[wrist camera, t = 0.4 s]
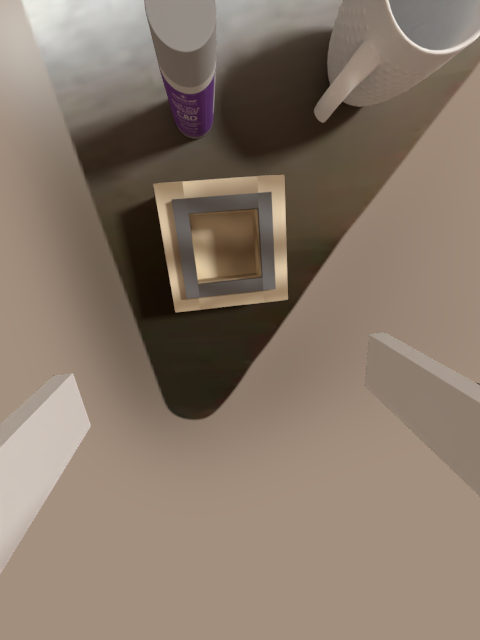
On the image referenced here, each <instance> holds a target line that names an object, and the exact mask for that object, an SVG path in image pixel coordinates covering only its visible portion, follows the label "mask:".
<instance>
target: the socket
mask: <svg viewBox="0 0 480 640" xmlns="http://www.w3.org/2000/svg"><path fill="white" fill-rule="evenodd" d="M153 186H154V191H155V197H156V203H157V209H158V215H159V220H160V226H161V232H162V238H163V244H164V249H165V255H166V261H167V267H168V273H169V279H170V284H171V290H172V296H173V302H174V308H175V312H184V311H193V310H202V309H211V308H219V307H228V306H237V305H246V304H254V303H263V302H272V301H281V300H288V286H287V250H286V214H285V179H284V175H267V176H253V177H239V178H225V179H211V180H197V181H183V182H168V183H159V184H153Z"/></svg>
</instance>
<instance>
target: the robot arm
mask: <svg viewBox="0 0 480 640" xmlns="http://www.w3.org/2000/svg"><path fill="white" fill-rule="evenodd" d="M365 386H366V387H367V388H368V389H369V390H370V391H371V392H372V393H373V394H374V395H375V396H376V397H377V398H378V399H379V400H380V401H381V402H382V403H383V404H384V405H386V407H387V408H389V409H390V410H391V411H392V412H393V413H394V414H395V415H396V416H397V417H398V418H399V419H400V420H401V421H402V422H403V423H404V424H405V425H406V426H407V427H408V428H409V429H410V430H411V431H412V432H413V433H414V434H416V435H417V436H418V437H419V438H420V439H421V440H422V441H423V442H424V443H425V444H426V445H427V446H428V447H429V448H430V449H431V450H432V451H433V452H434V453H435V454H436V455H437V456H438V457H439V458H440V459H441V460H443V461H444V462H445V463H446V464H447V465H448V466H449V467H450V468H451V469H452V470H453V471H454V472H455V473H456V474H457V475H458V476H459V477H460V478H461V479H462V480H463V481H464V482H465V483H466V484H467V485H469V486H470V487H471V488H472V489H473V490H474V491H475V492H476V493H477V494H478V495H479V496H480V384H479V383H475V382H473V381H471V380H470V379H468V378H466V377H464V376H463V375H460V374H459V373H457V372H455V371H453V370H452V369H450V368H448V367H446V366H444V365H443V364H441V363H439V362H437V361H435V360H434V359H432V358H430V357H428V356H426V355H424V354H422V353H421V352H419V351H417V350H415V349H414V348H412V347H410V346H408V345H406V344H404V343H403V342H401V341H399V340H397V339H395V338H394V337H392V336H390V335H388V334H386V333H377V334H370V335H369V342H368V353H367V366H366V376H365ZM90 426H91V425H90V422H89V419H88V416H87V413H86V410H85V407H84V404H83V402H82V399H81V396H80V393H79V390H78V387H77V384H76V381H75V378H74V375H73V373H68V374H61V375H53V376H52V377H51V378H50V379H49V380H48V381H47V382H46V383H45V384H44V385H43V386H41V387H40V388H39V389H38V390H37V391H36V392H35V393H34V394H33V395H32V396H31V397H29V398H28V399H27V400H26V401H25V402H24V403H23V404H22V405H21V406H20V407H18V408H17V409H16V410H15V411H14V412H13V413H12V414H11V415H10V416H9V417H7V418H6V419H5V420H4V421H3V422H2V423H1V424H0V574H1V572H2V571H3V569H4V567H5V566H6V564H7V562H8V561H9V559H10V557H11V556H12V554H13V553H14V551H15V549H16V548H17V546H18V544H19V543H20V541H21V539H22V538H23V536H24V535H25V533H26V531H27V529H28V528H29V526H30V525H31V523H32V521H33V520H34V518H35V516H36V515H37V513H38V512H39V510H40V508H41V507H42V505H43V503H44V502H45V500H46V498H47V497H48V495H49V494H50V492H51V490H52V489H53V487H54V485H55V484H56V482H57V481H58V479H59V477H60V476H61V474H62V472H63V471H64V469H65V467H66V466H67V464H68V463H69V461H70V459H71V458H72V456H73V454H74V453H75V451H76V449H77V448H78V446H79V445H80V443H81V441H82V439H83V438H84V436H85V435H86V433H87V431H88V430H89V428H90Z"/></svg>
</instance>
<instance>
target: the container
mask: <svg viewBox="0 0 480 640" xmlns="http://www.w3.org/2000/svg"><path fill="white" fill-rule="evenodd" d="M144 1H145V10H146V15H147V19H148V23H149V27H150V31H151V35H152V39H153V44H154V48H155V52H156V56H157V60H158V65H159V68H160V72H161V75H162V79H163V82H164V86H165V89H166V93H167V96H168V100H169V103H170V107H171V110H172V114H173V117H174V120H175V123H176V125H177V127H178V129H179V130H180V131H181V132H182V133H183V134H184V135H185V136H187V137H189V138H193V139H198V138H202V137H204V136H205V135H206V134H207V133H208V132H209V131H210V129H211V127H212V124H213V118H214V98H215V77H216V2H215V0H144Z"/></svg>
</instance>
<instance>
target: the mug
mask: <svg viewBox="0 0 480 640" xmlns="http://www.w3.org/2000/svg"><path fill="white" fill-rule="evenodd" d="M479 36H480V0H343V2H342V4H341V6H340V8H339V12H338V15H337V18H336V20H335V23H334V28H333V31H332V33H331V39H330V42H329V50H328V60H327V70H328V78H329V82H330V87H329V88H328V89H327V90H326V92H325V93H324V94H323V96H322V97H321V99H320V100H319V102H318V103H317V105H316V106H315V108H314V114H315V116H316V118H317V119H318V120H319V121H320V122H322V123H324V122H325V121H326V120H327V119H328V118H329V117H330V115H331V114H332V113H333V112H334V110H335V109H336V108H337V107H338V106H339V105H340V104H341V102H344V103H346V104H349V105H352V106H358V107H362V106H365V107H366V106H369V105H374V104H378V103H381V102H383V101H387V100H389V99H391V98H393V97H396V96H398V95H399V94H400V93H402V92H405V91H407V90H408V89H409V88H411V87H412V86H415V85H416V84H417V83H419V82H420V81H421V80H423V79H425V78H426V77H428V76H429V75H430V74H431V73H433V72H434V71H436V70H437V69H439V68H440V67H441V66H442V65H443V64H445V63H446V62H448V61H449V60H450V59H451V58H452V57H454V56H455V55H456V54H458V53H459V52H460V51H462V50H463V49H464V48H466V47H467V46H468V45H469V44H471V43H472V42H473V41H474V40H476V39H477V38H478V37H479Z"/></svg>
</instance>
